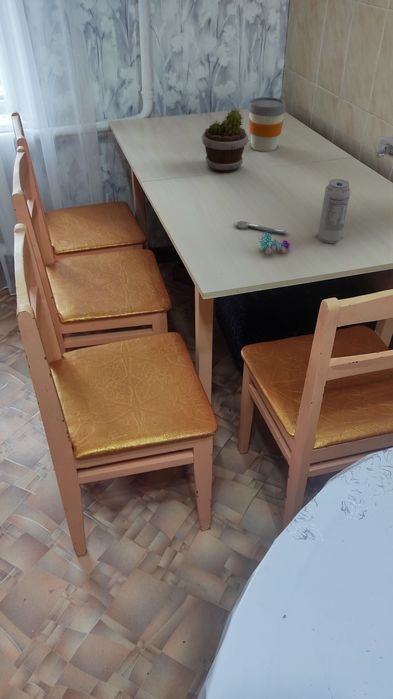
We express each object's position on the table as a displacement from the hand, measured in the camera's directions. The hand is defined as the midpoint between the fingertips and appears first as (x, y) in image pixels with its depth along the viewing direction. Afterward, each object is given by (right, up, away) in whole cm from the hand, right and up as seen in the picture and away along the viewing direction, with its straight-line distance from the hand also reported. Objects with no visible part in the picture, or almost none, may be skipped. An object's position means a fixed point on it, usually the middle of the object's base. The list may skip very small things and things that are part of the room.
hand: (390, 159), depth 135 cm
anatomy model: (-29, -24, 0) cm, 37 cm away
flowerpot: (-40, +12, +43) cm, 60 cm away
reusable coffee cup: (-24, +25, +59) cm, 68 cm away
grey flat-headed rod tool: (-31, -15, +9) cm, 36 cm away
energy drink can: (-14, -19, +6) cm, 24 cm away
